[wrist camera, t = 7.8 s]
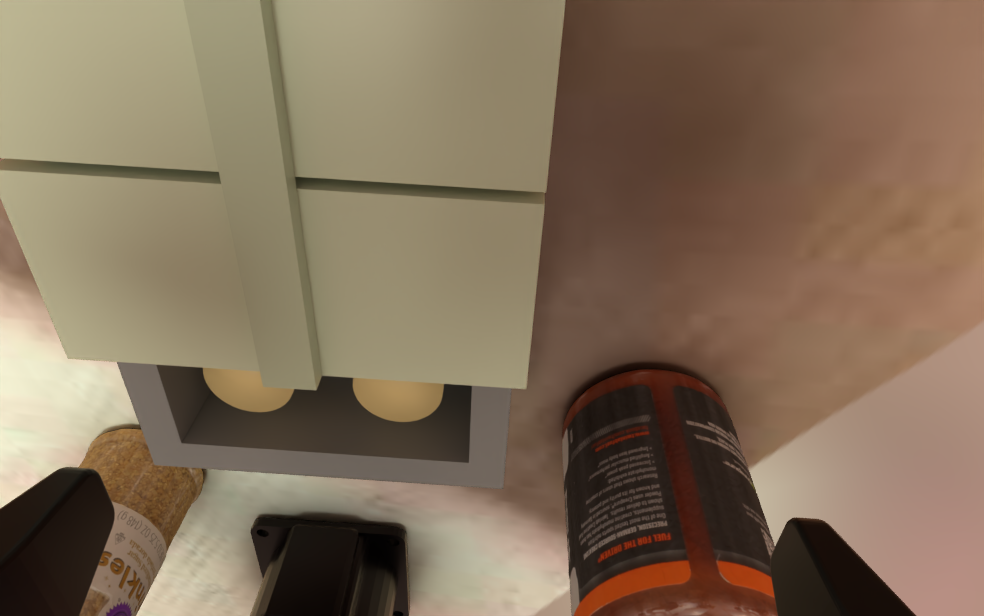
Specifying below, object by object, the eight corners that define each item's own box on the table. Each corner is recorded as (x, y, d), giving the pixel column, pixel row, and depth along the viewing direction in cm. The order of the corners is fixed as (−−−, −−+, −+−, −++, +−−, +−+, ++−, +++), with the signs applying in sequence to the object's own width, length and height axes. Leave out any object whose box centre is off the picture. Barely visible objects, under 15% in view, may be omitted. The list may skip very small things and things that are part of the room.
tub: (508, 373, 23) (503, 489, 19) (220, 353, 23) (154, 465, 19) (545, -100, 15) (550, -72, 11) (101, -126, 15) (-55, -107, 11)
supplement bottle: (531, 445, 25) (530, 799, 16) (616, 335, 22) (676, 698, 13) (665, 496, 27) (734, 850, 18) (764, 399, 23) (912, 770, 14)
